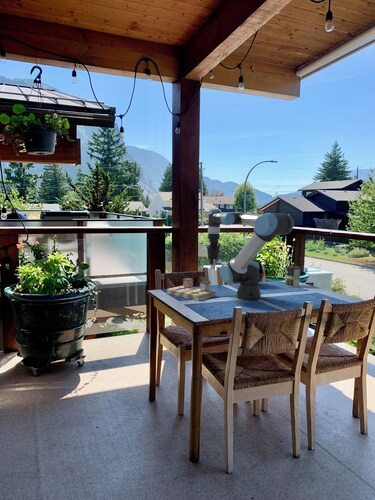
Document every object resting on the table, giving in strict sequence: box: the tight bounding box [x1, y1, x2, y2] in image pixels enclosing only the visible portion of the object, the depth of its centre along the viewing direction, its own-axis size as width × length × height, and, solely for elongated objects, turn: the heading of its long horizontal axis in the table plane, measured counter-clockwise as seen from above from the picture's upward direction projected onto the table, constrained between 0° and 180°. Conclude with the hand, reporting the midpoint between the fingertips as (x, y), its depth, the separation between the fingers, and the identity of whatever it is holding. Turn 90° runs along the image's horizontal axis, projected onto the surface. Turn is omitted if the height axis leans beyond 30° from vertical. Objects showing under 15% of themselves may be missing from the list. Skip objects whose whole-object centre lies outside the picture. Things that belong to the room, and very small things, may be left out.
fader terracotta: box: [182, 277, 194, 288], centre depth 241 cm, size 4×5×5 cm
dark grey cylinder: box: [252, 259, 265, 283], centre depth 264 cm, size 20×20×19 cm
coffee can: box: [284, 265, 301, 288], centre depth 267 cm, size 10×10×14 cm
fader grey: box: [199, 280, 211, 291], centre depth 232 cm, size 4×5×5 cm
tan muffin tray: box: [166, 285, 216, 302], centre depth 232 cm, size 26×17×3 cm, turn 50°
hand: (212, 269), depth 237 cm, fingers closed
